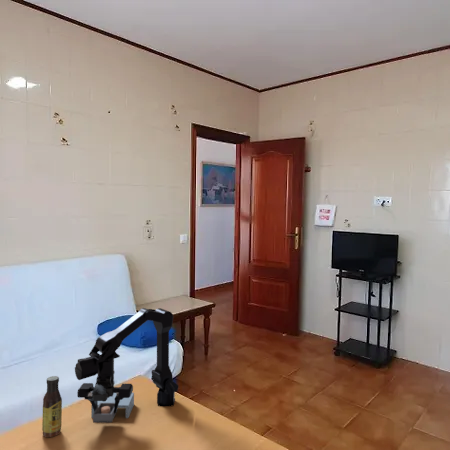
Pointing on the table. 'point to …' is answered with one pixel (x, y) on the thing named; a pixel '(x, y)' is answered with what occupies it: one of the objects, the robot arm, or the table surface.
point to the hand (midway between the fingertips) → (105, 413)
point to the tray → (104, 417)
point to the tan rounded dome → (105, 410)
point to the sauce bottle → (52, 408)
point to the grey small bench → (123, 403)
